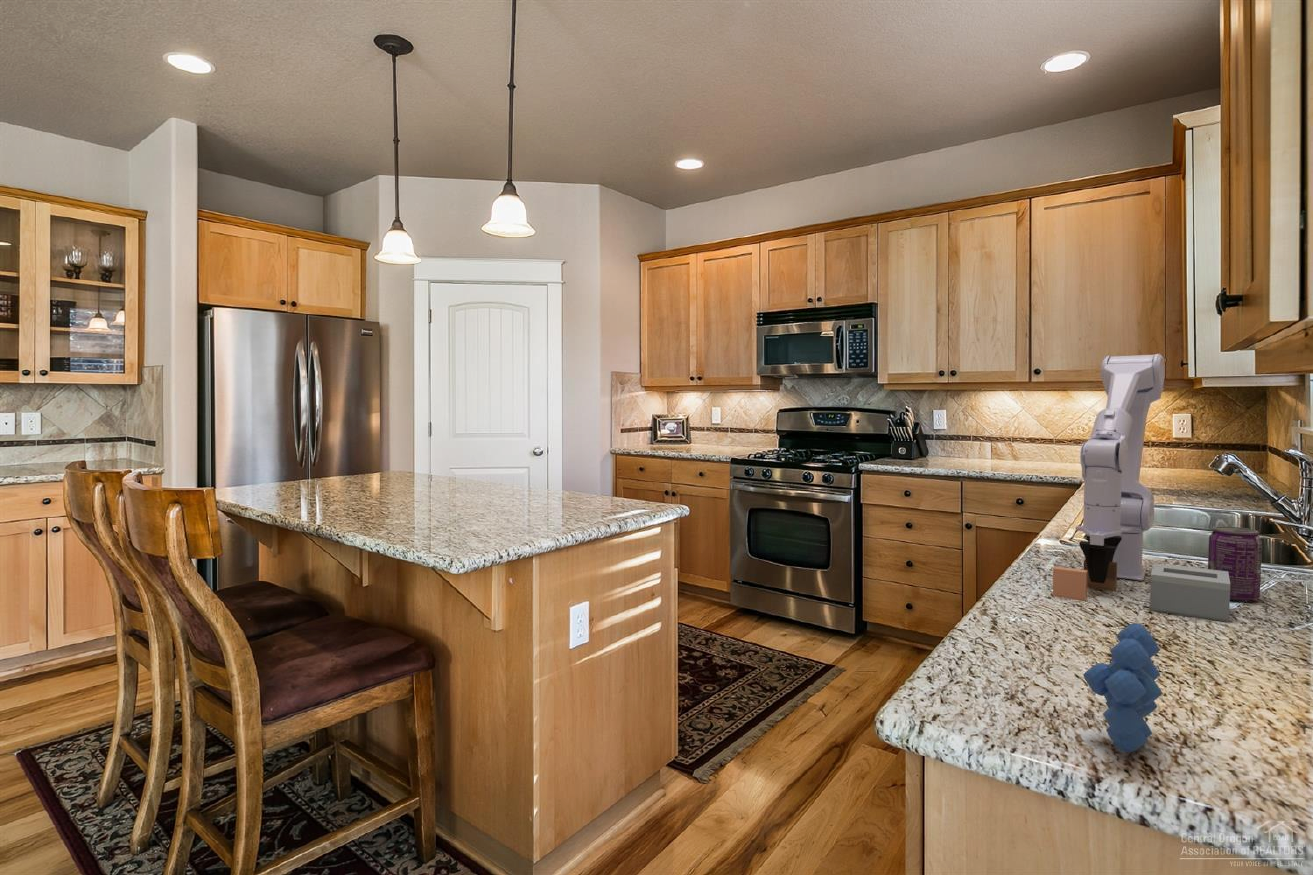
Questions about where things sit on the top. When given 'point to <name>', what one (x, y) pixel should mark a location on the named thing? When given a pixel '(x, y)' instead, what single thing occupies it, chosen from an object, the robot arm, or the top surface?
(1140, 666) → the grapes
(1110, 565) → the block
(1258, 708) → the top surface
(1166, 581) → the coin box
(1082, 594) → the block
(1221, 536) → the beverage can
